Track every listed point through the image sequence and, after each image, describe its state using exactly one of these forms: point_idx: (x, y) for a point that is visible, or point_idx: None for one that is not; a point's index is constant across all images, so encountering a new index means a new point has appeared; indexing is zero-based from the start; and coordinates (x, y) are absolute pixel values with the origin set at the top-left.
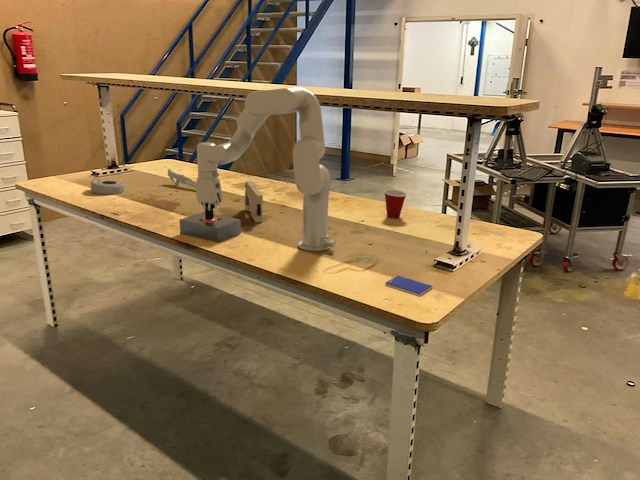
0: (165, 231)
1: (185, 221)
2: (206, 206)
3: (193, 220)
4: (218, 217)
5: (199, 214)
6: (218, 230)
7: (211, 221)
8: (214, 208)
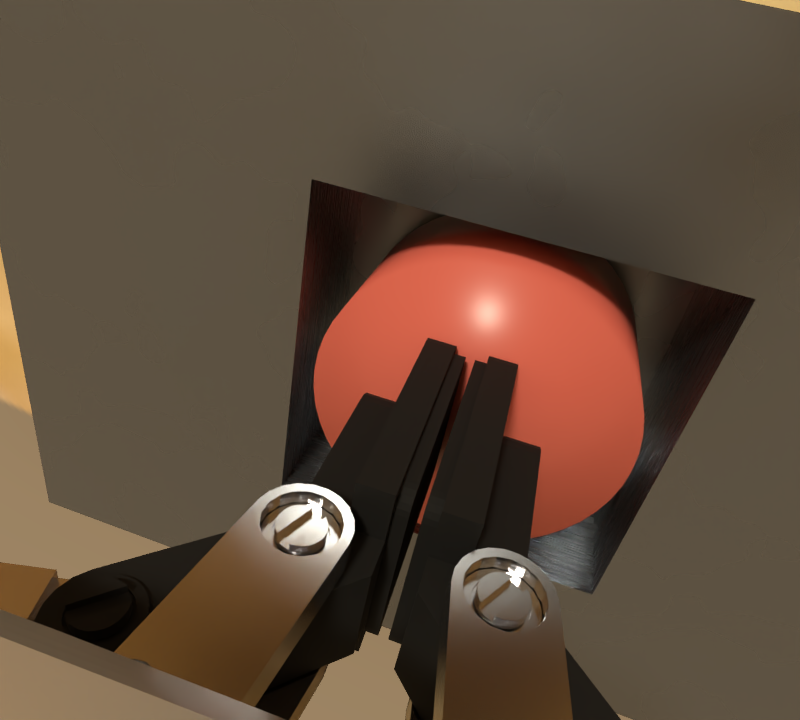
0: (10, 355)
1: (165, 534)
2: (284, 667)
3: (241, 514)
4: (585, 200)
5: (40, 128)
6: None
7: (565, 524)
8: (554, 610)
